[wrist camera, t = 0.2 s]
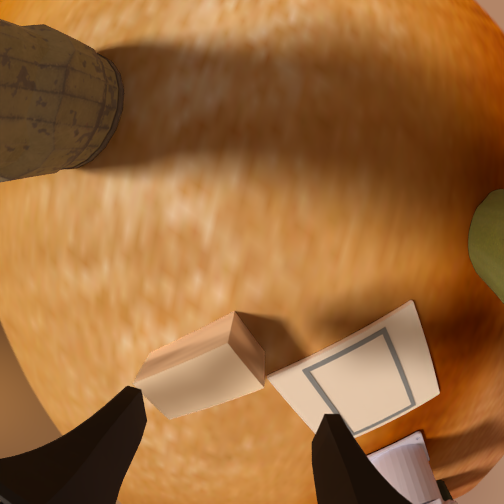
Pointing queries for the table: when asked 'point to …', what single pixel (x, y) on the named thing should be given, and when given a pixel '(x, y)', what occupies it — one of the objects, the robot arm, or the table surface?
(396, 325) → the mat
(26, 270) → the table surface
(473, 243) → the plant pot
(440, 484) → the potion bottle
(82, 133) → the thermos
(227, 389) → the tall beige pillar block
